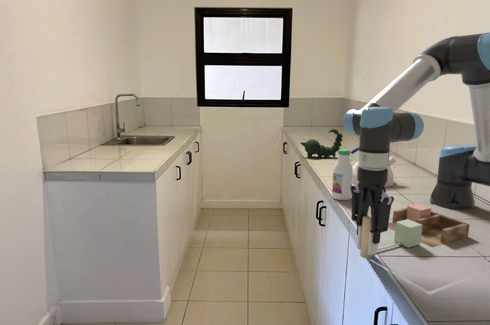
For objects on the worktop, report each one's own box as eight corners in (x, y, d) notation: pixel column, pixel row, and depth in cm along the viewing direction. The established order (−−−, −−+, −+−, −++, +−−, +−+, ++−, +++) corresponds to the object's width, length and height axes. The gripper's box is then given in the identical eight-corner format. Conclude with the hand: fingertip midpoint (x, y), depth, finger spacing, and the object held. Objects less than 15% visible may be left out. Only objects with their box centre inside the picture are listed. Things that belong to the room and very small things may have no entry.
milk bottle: (348, 194, 158) (350, 148, 154) (353, 200, 151) (356, 151, 147) (329, 195, 158) (332, 148, 154) (334, 201, 151) (337, 151, 146)
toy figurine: (338, 158, 238) (298, 154, 240) (342, 129, 233) (302, 125, 236) (339, 162, 229) (298, 157, 231) (344, 131, 224) (302, 126, 227)
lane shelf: (415, 218, 131) (416, 205, 130) (467, 238, 115) (469, 224, 114) (381, 226, 124) (382, 213, 123) (432, 249, 108) (433, 234, 107)
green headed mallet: (405, 240, 113) (409, 205, 111) (420, 246, 109) (423, 210, 107) (355, 253, 105) (358, 215, 103) (368, 260, 100) (371, 221, 98)
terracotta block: (416, 220, 128) (418, 203, 127) (429, 225, 124) (431, 208, 122) (406, 222, 126) (407, 205, 124) (418, 228, 121) (420, 210, 120)
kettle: (398, 189, 167) (401, 148, 163) (349, 186, 171) (352, 147, 167) (390, 177, 186) (393, 141, 182) (347, 175, 190) (349, 140, 186)
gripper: (340, 162, 104) (336, 241, 109) (386, 175, 89) (379, 266, 94) (361, 159, 107) (356, 237, 112) (409, 172, 92) (401, 260, 98)
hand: (367, 250), depth 103 cm, fingers closed on green headed mallet, 3 cm apart
